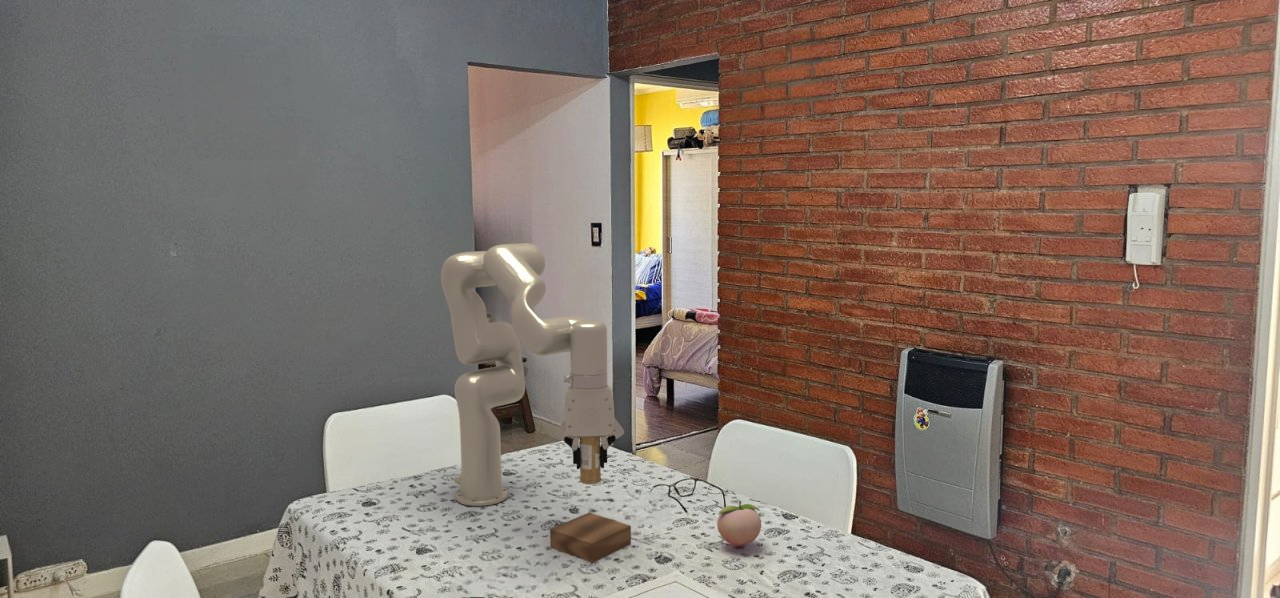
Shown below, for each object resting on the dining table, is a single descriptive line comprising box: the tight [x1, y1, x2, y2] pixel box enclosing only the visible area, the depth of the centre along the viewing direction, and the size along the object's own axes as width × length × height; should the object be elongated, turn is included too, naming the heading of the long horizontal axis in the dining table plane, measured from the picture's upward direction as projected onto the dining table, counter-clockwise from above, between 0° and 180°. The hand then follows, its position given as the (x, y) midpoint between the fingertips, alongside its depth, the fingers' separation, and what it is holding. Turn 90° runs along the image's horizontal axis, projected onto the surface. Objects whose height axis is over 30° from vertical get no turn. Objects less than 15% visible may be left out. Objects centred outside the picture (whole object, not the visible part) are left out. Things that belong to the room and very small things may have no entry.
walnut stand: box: [549, 512, 632, 564], centre depth 178 cm, size 12×12×4 cm
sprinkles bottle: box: [578, 437, 602, 486], centre depth 176 cm, size 5×5×13 cm
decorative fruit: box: [716, 501, 762, 548], centre depth 176 cm, size 9×8×10 cm
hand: (590, 465), depth 176 cm, fingers closed on sprinkles bottle, 4 cm apart
